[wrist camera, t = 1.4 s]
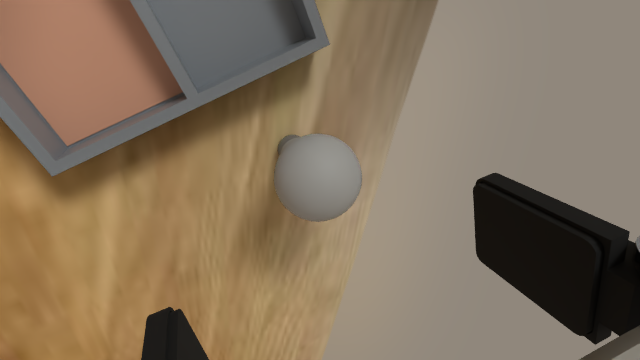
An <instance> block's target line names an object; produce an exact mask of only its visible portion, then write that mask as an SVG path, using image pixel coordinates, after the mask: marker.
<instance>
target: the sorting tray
mask: <svg viewBox="0 0 640 360" xmlns="http://www.w3.org/2000/svg"><path fill="white" fill-rule="evenodd" d="M328 45H330V43H329V40H328V38H327V35H326V32H325V29H324V26H323V23H322V21H321V18H320V15H319V12H318V9H317V6H316V3H315V1H314V0H0V117H1V118H2V119H3V121H4V122H5V123H6V124H7V125H8V126H9V128H10V129H11V130H12V131H13V132H14V133H15V134H16V136H17V137H18V138H19V139H20V140H21V141H22V142H23V144H24V145H25V146H26V147H27V148H28V149H29V151H30V152H31V153H32V154H33V155H34V156H35V157H36V159H37V160H38V161H39V162H40V163H41V164H42V165H43V167H44V168H45V169H46V170H47V171H48V172H49V174H50V175H51V176H55V175H57V174H59V173H61V172H63V171H65V170H67V169H69V168H71V167H73V166H76V165H78V164H80V163H82V162H84V161H86V160H88V159H90V158H92V157H94V156H97V155H99V154H101V153H103V152H105V151H107V150H109V149H111V148H113V147H115V146H118V145H120V144H122V143H124V142H126V141H128V140H130V139H132V138H134V137H137V136H139V135H141V134H143V133H145V132H147V131H149V130H151V129H153V128H155V127H158V126H160V125H162V124H164V123H166V122H168V121H170V120H172V119H174V118H176V117H179V116H181V115H183V114H185V113H187V112H189V111H191V110H193V109H195V108H197V107H200V106H202V105H204V104H206V103H208V102H210V101H212V100H214V99H216V98H218V97H221V96H223V95H225V94H227V93H229V92H231V91H233V90H235V89H237V88H239V87H242V86H244V85H246V84H248V83H250V82H252V81H254V80H256V79H258V78H260V77H263V76H265V75H267V74H269V73H271V72H273V71H275V70H277V69H279V68H281V67H284V66H286V65H288V64H290V63H292V62H294V61H296V60H298V59H300V58H302V57H305V56H307V55H309V54H311V53H313V52H315V51H317V50H319V49H321V48H323V47H326V46H328Z"/></svg>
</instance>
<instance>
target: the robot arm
mask: <svg viewBox="0 0 640 360" xmlns="http://www.w3.org/2000/svg"><path fill="white" fill-rule="evenodd" d="M473 198H474V219H475V239H476V254H477V256H478V258H479V260H480V261H481V262H482V263H484V264H485V265H486V266H487V267H489V268H490V269H491V270H493V271H494V272H495V273H496V274H498V275H499V276H500V277H502V278H503V279H504V280H506V281H507V282H508V283H510V284H511V285H512V286H514V287H515V288H516V289H517V290H519V291H520V292H521V293H523V294H524V295H525V296H526V297H528V298H529V299H531V300H532V301H533V302H534V303H536V304H537V305H538V306H540V307H541V308H542V309H544V310H545V311H546V312H547V313H549V314H550V315H551V316H553V317H554V318H555V319H557V320H558V321H559V322H560V323H562V324H563V325H564V326H566V327H567V328H568V329H570V330H571V331H572V332H574V333H575V334H577V335H579V336H585V337H586V338H587V339H589V340H590V341H591V342H592V343H594V344H597V343H599V342H601V341H602V340H604V339H606V338H608V337H609V336H611V331H613V332H614V333H616V334H617V335H619V337H618V338H616V339H614V340H613V341H611V342H609V343H607V344H606V345H604V346H602V347H600V348H598V349H597V350H595V351H593V352H592V353H590V354H588V355H586V356H584V357H583V358H581V359H579V360H640V236H639V237H638V238H637V240H636V242H635V243H634V242H631V241H629V240H628V238H629V231H627V230H625V229H622V228H620V227H618V226H616V225H613V224H611V223H609V222H607V221H604V220H602V219H600V218H598V217H595V216H593V215H591V214H588V213H586V212H584V211H582V210H579V209H577V208H575V207H573V206H570V205H568V204H566V203H563V202H561V201H559V200H557V199H554V198H552V197H550V196H548V195H545V194H543V193H541V192H539V191H536V190H534V189H532V188H530V187H527V186H525V185H523V184H521V183H518V182H516V181H514V180H511V179H509V178H507V177H505V176H502V175H500V174H498V173H492V174H490V175H488V176H485V177H483V178H480V179H478V180H477V182H476V185H475V186H474V188H473ZM141 360H209V359H208V357H207V355H206V353H205V351H204V350H203V348H202V346H201V344H200V342H199V341H198V339H197V337H196V335H195V333H194V332H193V330H192V328H191V326H190V324H189V323H188V321H187V319H186V317H185V315H184V313H183V312H182V310H181V309H178V310H175V311H174V310H173V309H172V308H171V307H168V308H166V309H163V310H161V311H159V312H156V313H154V314H151V315H149V316H148V317H147V321H146V329H145V336H144V343H143V351H142V358H141Z"/></svg>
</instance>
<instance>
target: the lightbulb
mask: <svg viewBox="0 0 640 360" xmlns="http://www.w3.org/2000/svg"><path fill="white" fill-rule="evenodd" d="M278 153H279V158H278V160H277V163H276V166H275V171H274V185H275V190H276V193H277V195H278V197H279V199H280V201H281V202H282V204H283V205H284V206H285V208H287V209H288V210H289V211H290V212H291V213H293V214H294V215H296V216H298V217H300V218H302V219H305V220H309V221H316V222H320V221H327V220H330V219H334V218H336V217H338V216H340V215H342V214H343V213H344V212H346V211H347V210H348V209H349V208H350V207H351V206H352V204H353V203H354V202H355V200H356V198H357V196H358V194H359V191H360V188H361V183H362V173H361V167H360V164H359V161H358V159H357V157H356V155H355V154H354V152H353V150H352V149H351V148H350V147H349V146H348V145H347V144H346V143H344V142H343V141H341V140H340V139H338V138H336V137H334V136H331V135H325V134H309V135H305V136H302V137H299V136H297V135H288V136H285V137H284V138H283V139H282V140H281V141H280V143H279V145H278Z"/></svg>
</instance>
